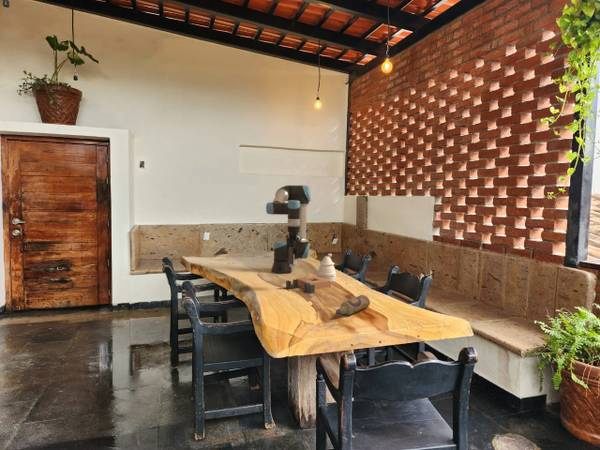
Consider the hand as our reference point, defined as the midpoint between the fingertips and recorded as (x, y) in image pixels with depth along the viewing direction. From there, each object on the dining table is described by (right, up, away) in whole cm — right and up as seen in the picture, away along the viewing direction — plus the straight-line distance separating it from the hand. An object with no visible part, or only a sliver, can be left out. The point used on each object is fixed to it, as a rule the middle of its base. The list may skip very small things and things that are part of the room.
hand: (293, 263), depth 232 cm
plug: (0, -2, 0) cm, 2 cm away
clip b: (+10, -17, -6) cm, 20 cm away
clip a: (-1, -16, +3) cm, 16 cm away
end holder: (+13, -15, +9) cm, 22 cm away
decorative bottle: (+29, -20, -43) cm, 56 cm away
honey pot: (+22, -14, +27) cm, 38 cm away
